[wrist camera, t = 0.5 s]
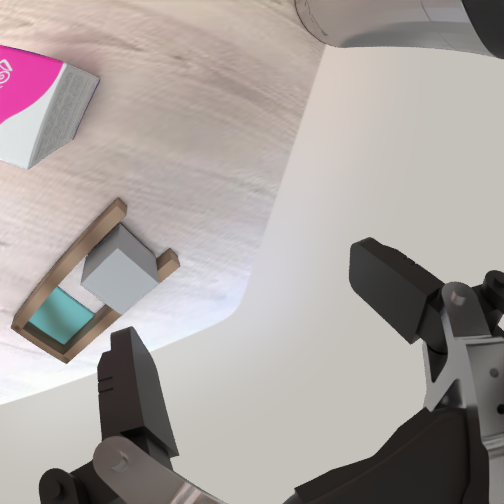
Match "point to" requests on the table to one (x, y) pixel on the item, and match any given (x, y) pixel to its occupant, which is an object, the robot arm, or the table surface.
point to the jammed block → (120, 270)
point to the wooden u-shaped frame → (68, 309)
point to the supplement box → (39, 105)
